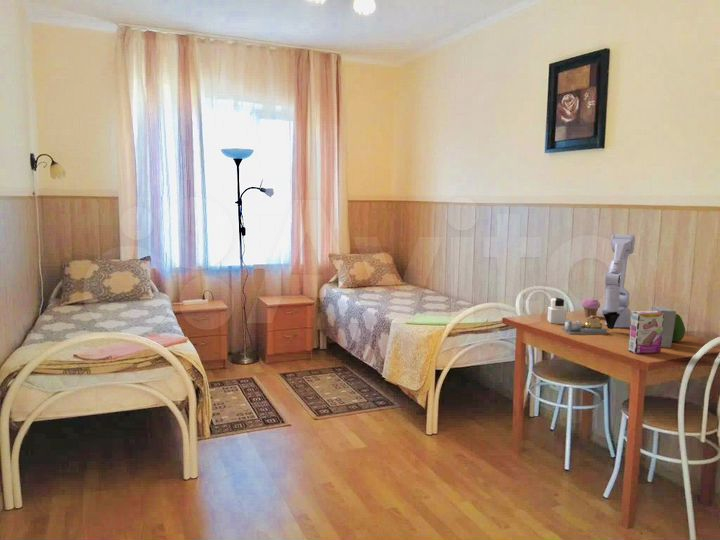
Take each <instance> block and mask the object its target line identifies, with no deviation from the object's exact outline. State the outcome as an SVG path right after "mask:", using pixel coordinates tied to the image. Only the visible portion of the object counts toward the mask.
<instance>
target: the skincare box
mask: <svg viewBox="0 0 720 540" xmlns="http://www.w3.org/2000/svg"><path fill="white" fill-rule="evenodd" d="M650 311H658V312H662V313H664V320H663V330H662V340H661V348H671V347H672V342H673V341H672V338H673V331H674V324H675V318H676V314H677V311H676V310H674V309H673V308H670V307H668V306H659V305H658V306H656V305H652V306H651V310H650Z"/></svg>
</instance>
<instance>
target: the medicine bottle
mask: <svg viewBox="0 0 720 540" xmlns="http://www.w3.org/2000/svg"><path fill="white" fill-rule="evenodd" d="M564 305H565V299H563V298H561V297H553V298H551V299H550V306H548V307H547V319H546V320H547V322H549V323H550V324H551V323H553V324H552V325H565V320H566V319H567V309H565V306H564Z"/></svg>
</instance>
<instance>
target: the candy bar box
mask: <svg viewBox="0 0 720 540" xmlns="http://www.w3.org/2000/svg"><path fill="white" fill-rule="evenodd" d="M663 320H664V313H662V312H658V311H651V310H632V311H631V320H630V328H629V336H628V337H629V339H628V351H629V352H630V351H631V352H630V353H632V352H633V354H636V355H637V354H660V353H661V349H662V347H661V340H662V330H663Z"/></svg>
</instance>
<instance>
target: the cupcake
mask: <svg viewBox="0 0 720 540" xmlns="http://www.w3.org/2000/svg"><path fill="white" fill-rule="evenodd" d="M581 306H582V307H583V312H584V315H585V317H586V318H587V317H590V316H591V315H594V316H597V313H598V312H599V309H600V308H601V303H600V302H599V300H598V299H597V298H593V297H587V298H584V299H583V300H582V302H581Z"/></svg>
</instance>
